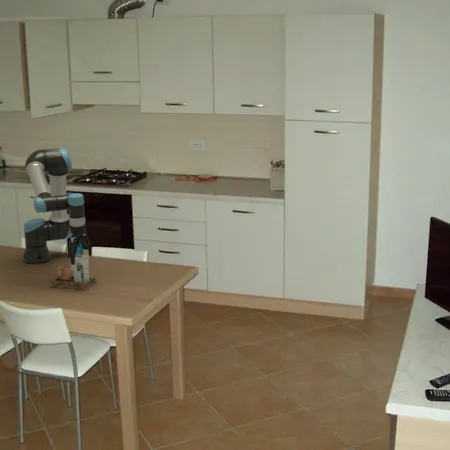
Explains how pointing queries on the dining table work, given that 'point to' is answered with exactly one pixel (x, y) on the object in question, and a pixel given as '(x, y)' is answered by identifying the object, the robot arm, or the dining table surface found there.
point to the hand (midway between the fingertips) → (80, 266)
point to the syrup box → (81, 269)
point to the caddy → (70, 280)
